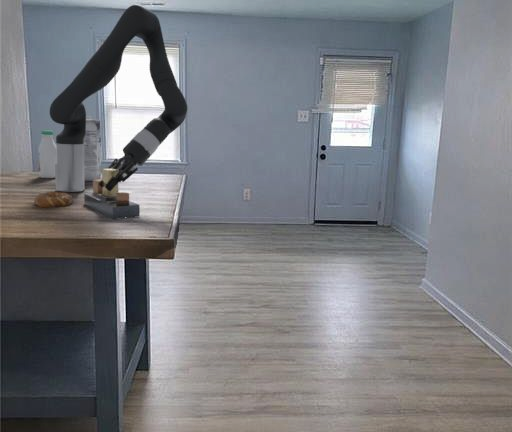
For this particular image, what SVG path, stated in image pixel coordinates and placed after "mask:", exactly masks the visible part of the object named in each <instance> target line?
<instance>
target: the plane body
mask: <svg viewBox="0 0 512 432" xmlns="http://www.w3.org/2000/svg"><path fill="white" fill-rule="evenodd" d="M101 180H102V179H101V178H100V179H94V180H93V181H92V189H93V190H92V192H88V193H87V192H86V193H85V192H84V193H83V199H84V202H83V203H84V205H85V206H87V207H88V208H90V209H93V210H94V211H97V212H98V213H101V214H102V215H104V216H106V217H107V218H109V217H110V218H109V219H111V218H112V219H111V220H117V219H116V218H121V219H126V218H125V217H132V218H136V217H135V216H140V212H141V211H140V204H138V203H135V202H134V201H131V200H130V193H129V192H124V191H123V192H122V191H121V192H118V193H116V197H109V198H107V197H104V196H103V188H102V187H101V186H100V185H99V182H100V181H101Z"/></svg>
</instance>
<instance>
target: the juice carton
mask: <svg viewBox="0 0 512 432" xmlns="http://www.w3.org/2000/svg"><path fill="white" fill-rule="evenodd" d="M101 139H102V138H101V121H100V119H95V118H94V119H92V116H90V115H86V133H85V137H84V140H83V144H84V182H93V180H94V179H101V175H102V140H101Z"/></svg>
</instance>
